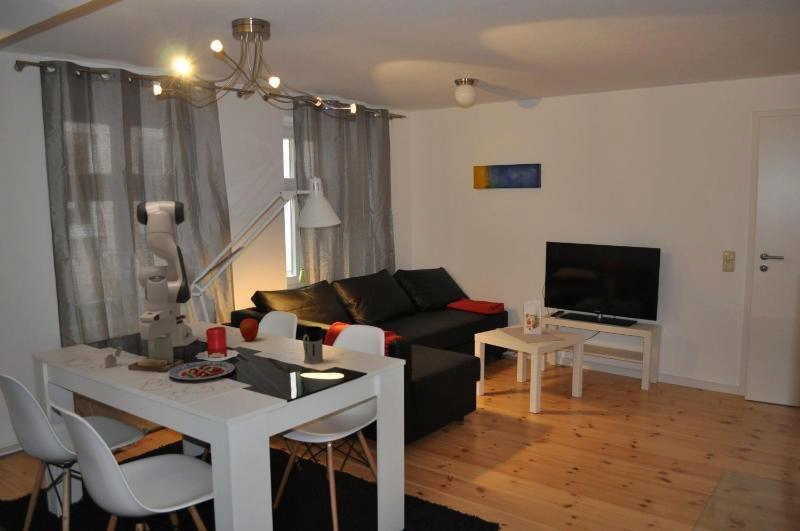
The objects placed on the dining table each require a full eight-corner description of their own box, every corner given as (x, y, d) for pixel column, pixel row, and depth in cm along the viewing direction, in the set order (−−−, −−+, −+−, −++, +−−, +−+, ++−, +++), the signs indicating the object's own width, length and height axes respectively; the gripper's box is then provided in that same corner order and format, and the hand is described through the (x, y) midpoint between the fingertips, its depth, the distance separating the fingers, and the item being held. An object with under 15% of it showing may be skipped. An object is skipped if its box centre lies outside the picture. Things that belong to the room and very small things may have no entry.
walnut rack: (147, 361, 275) (147, 357, 275) (183, 364, 270) (183, 360, 270) (128, 369, 263) (128, 365, 263) (165, 372, 258) (165, 367, 258)
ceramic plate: (211, 362, 274) (210, 356, 274) (247, 373, 258) (247, 366, 257) (156, 376, 254) (155, 369, 254) (191, 388, 238) (191, 380, 238)
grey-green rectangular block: (153, 363, 273) (152, 336, 271) (173, 364, 270) (172, 337, 269) (149, 365, 270) (147, 337, 269) (169, 366, 267) (168, 339, 266)
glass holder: (326, 359, 277) (326, 326, 275) (314, 368, 263) (313, 333, 262) (308, 358, 279) (307, 325, 277) (294, 367, 266) (294, 332, 264)
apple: (236, 341, 312) (235, 318, 311) (248, 337, 320) (247, 314, 319) (251, 343, 308) (250, 319, 307) (262, 339, 316) (262, 316, 315)
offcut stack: (144, 367, 268) (143, 358, 268) (168, 368, 266) (168, 360, 265) (136, 370, 263) (136, 361, 263) (161, 371, 261) (161, 363, 260)
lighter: (106, 367, 266) (105, 349, 265) (105, 367, 267) (104, 348, 266) (123, 364, 271) (122, 346, 270) (121, 363, 272) (120, 345, 272)
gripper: (167, 309, 278) (168, 340, 280) (136, 317, 259) (138, 350, 260) (179, 310, 277) (181, 340, 278) (149, 318, 257) (151, 351, 258)
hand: (160, 345), depth 269 cm, fingers open, 8 cm apart
